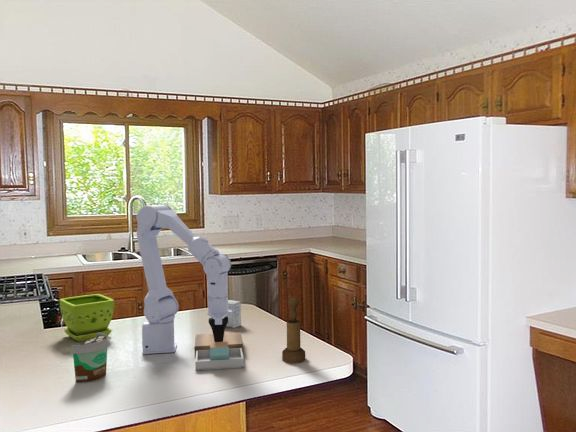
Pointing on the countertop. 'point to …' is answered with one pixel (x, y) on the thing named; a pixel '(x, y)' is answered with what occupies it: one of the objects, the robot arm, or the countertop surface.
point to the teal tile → (219, 353)
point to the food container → (91, 358)
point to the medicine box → (234, 314)
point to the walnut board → (205, 339)
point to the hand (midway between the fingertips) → (218, 342)
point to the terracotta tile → (218, 344)
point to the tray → (206, 364)
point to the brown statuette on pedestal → (293, 336)
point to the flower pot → (87, 315)
